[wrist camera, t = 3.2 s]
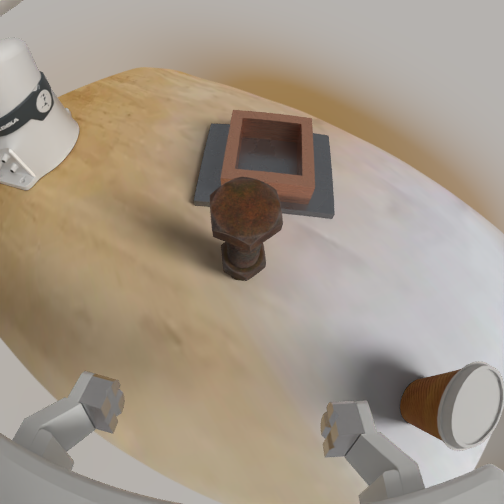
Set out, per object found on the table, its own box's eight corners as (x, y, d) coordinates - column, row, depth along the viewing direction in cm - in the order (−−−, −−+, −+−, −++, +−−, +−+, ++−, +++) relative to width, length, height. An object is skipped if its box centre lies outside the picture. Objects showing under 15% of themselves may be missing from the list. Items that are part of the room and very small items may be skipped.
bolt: (219, 248, 36) (208, 176, 22) (260, 244, 36) (273, 170, 22) (223, 295, 34) (213, 247, 20) (267, 290, 34) (287, 239, 20)
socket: (194, 205, 38) (189, 183, 33) (211, 128, 43) (209, 104, 38) (331, 218, 38) (344, 198, 33) (326, 140, 43) (334, 117, 38)
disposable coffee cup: (419, 351, 32) (481, 341, 21) (455, 392, 30) (516, 391, 18) (375, 409, 29) (431, 424, 18) (415, 447, 27) (473, 466, 16)
